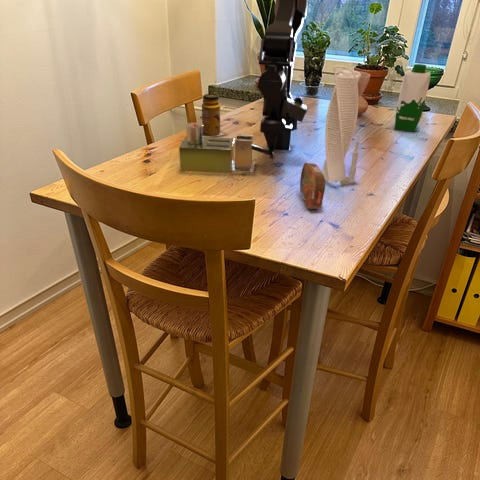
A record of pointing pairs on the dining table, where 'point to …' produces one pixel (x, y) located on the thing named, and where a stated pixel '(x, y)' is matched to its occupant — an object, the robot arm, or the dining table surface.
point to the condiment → (211, 115)
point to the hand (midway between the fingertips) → (271, 150)
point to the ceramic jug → (361, 87)
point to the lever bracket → (243, 154)
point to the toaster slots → (218, 145)
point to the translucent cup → (194, 133)
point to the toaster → (207, 156)
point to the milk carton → (412, 98)
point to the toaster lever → (263, 150)
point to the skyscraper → (341, 127)
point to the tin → (312, 185)
